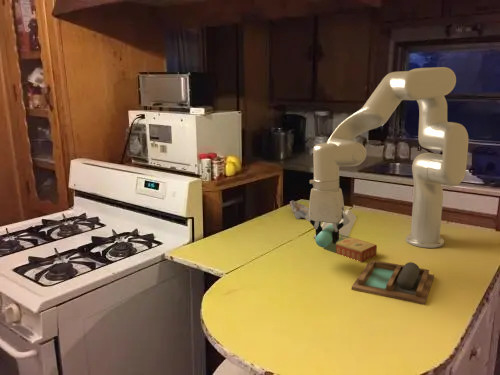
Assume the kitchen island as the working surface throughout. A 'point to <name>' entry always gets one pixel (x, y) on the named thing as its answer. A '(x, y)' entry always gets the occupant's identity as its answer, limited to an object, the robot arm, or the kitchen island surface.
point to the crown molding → (347, 228)
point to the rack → (392, 282)
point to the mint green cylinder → (325, 236)
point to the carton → (353, 248)
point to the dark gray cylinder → (408, 276)
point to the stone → (299, 209)
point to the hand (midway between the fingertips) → (327, 240)
